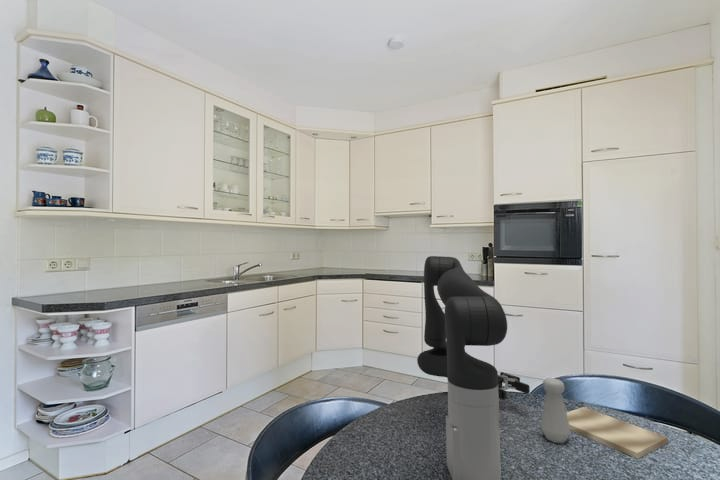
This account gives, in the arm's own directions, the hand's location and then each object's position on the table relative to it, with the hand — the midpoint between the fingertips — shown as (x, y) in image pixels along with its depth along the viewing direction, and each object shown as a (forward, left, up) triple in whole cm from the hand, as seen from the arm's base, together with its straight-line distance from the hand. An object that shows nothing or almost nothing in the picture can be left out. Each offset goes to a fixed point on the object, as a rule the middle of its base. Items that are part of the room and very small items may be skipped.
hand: (517, 392), depth 87 cm
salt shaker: (+5, -8, -7) cm, 12 cm away
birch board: (+18, -5, -7) cm, 20 cm away
